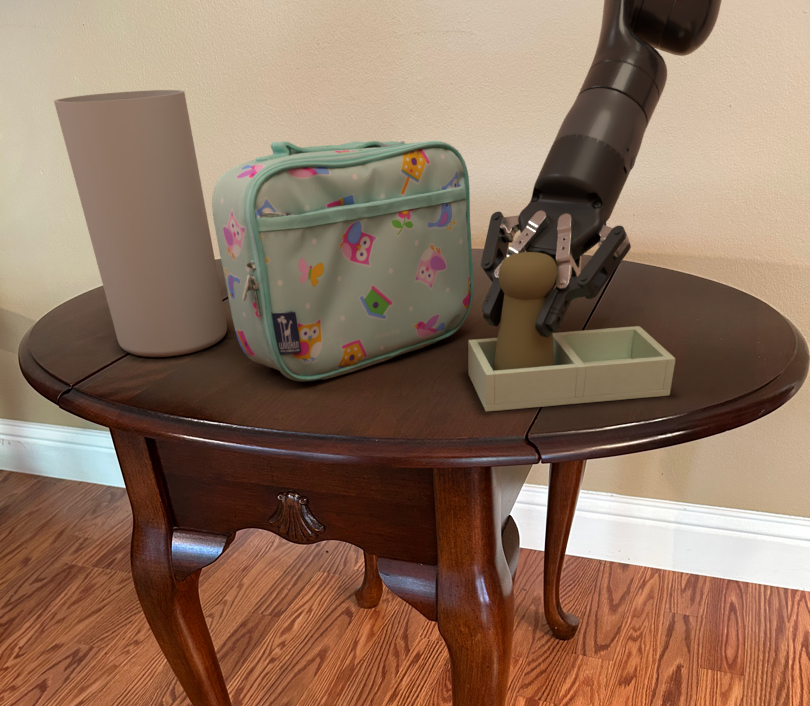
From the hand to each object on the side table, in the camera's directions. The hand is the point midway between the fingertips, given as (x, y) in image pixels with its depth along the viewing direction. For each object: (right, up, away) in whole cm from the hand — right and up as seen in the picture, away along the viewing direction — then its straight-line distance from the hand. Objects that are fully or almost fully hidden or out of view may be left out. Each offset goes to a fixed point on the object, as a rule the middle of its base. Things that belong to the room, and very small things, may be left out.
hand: (515, 326), depth 69 cm
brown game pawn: (+1, -4, +4) cm, 6 cm away
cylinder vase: (-37, +4, +21) cm, 43 cm away
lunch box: (-15, +1, +14) cm, 21 cm away
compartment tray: (+5, -4, +5) cm, 9 cm away
